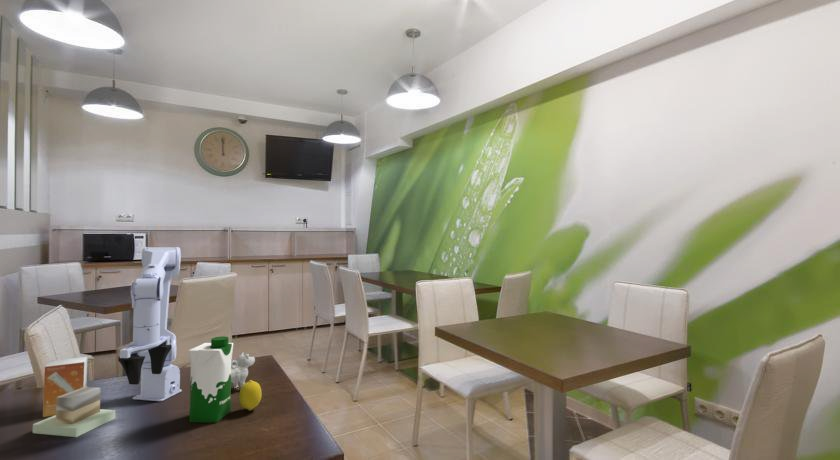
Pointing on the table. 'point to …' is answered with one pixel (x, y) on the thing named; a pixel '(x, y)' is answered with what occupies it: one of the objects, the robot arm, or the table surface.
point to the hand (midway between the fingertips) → (145, 378)
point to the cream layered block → (77, 405)
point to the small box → (62, 380)
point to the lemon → (250, 395)
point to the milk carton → (210, 380)
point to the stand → (74, 429)
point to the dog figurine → (240, 369)
